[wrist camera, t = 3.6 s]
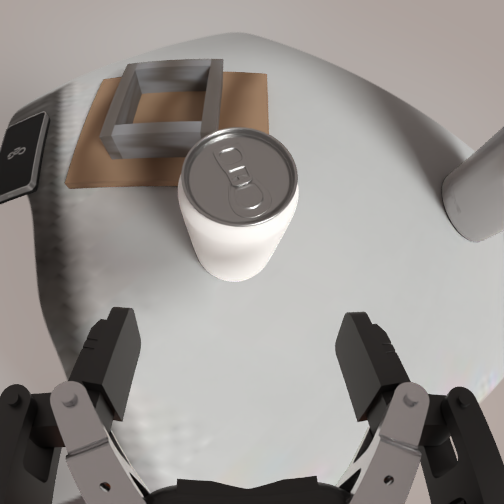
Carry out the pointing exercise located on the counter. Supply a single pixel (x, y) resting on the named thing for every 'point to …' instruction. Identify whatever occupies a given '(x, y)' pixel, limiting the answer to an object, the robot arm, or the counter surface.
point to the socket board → (161, 120)
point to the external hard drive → (22, 156)
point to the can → (237, 200)
